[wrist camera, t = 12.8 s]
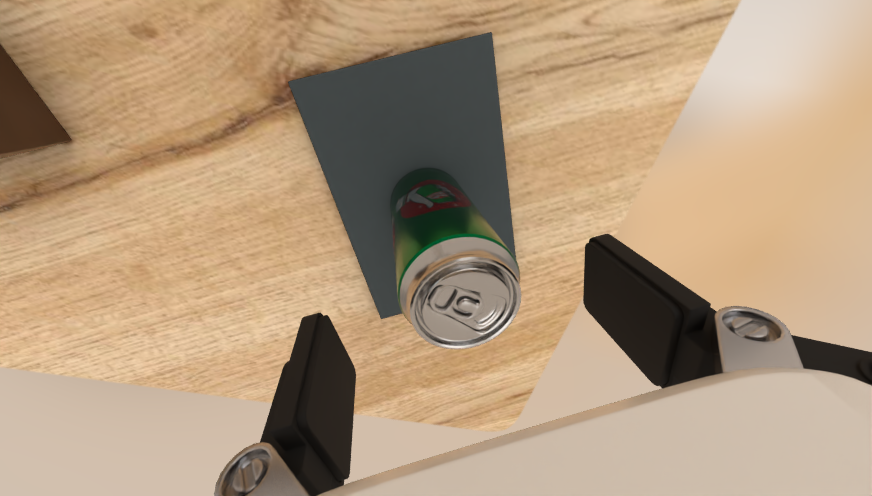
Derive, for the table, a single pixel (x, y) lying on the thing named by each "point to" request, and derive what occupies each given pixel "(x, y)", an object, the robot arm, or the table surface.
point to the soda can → (450, 263)
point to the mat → (407, 142)
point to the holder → (24, 114)
